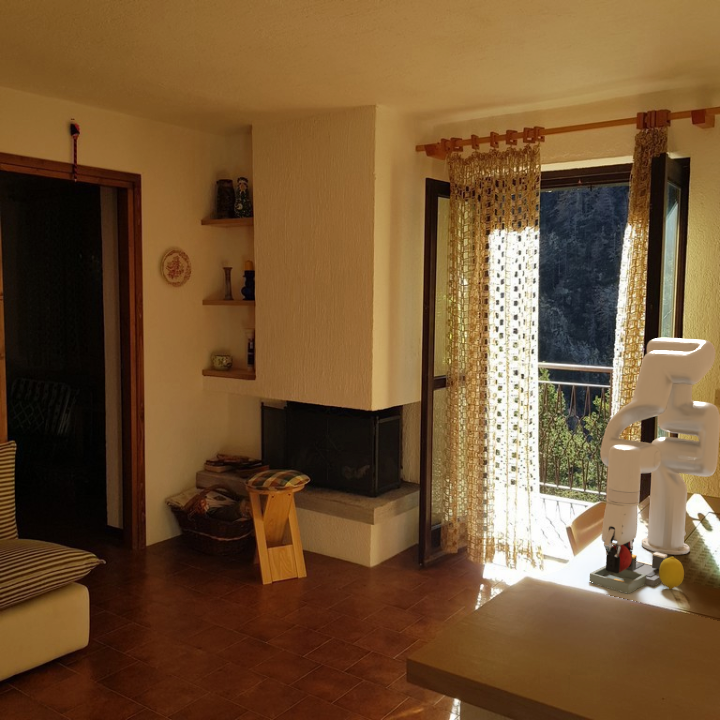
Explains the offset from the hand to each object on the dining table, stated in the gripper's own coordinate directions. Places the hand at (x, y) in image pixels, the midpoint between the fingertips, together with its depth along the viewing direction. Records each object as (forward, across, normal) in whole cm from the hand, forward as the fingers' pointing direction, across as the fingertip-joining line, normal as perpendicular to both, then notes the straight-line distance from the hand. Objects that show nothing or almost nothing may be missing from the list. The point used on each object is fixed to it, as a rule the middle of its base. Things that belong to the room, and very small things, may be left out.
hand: (618, 567), depth 183 cm
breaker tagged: (+2, -6, 0) cm, 6 cm away
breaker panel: (+4, -10, +2) cm, 11 cm away
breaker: (+2, -12, +5) cm, 13 cm away
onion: (+1, 0, 0) cm, 1 cm away
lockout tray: (+4, 0, 0) cm, 4 cm away
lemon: (+4, -6, +10) cm, 13 cm away
